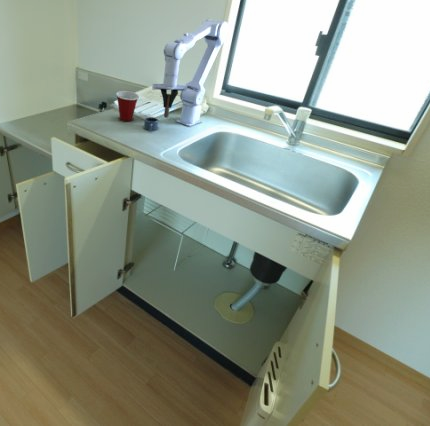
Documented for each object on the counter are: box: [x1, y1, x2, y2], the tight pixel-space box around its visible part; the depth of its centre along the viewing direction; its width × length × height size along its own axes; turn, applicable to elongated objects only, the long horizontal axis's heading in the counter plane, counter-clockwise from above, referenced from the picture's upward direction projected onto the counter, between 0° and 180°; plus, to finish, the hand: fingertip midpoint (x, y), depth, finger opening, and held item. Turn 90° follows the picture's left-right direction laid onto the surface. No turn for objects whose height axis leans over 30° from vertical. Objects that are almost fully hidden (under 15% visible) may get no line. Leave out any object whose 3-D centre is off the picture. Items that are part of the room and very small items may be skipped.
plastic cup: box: [115, 90, 140, 122], centre depth 154 cm, size 11×11×12 cm
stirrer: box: [163, 93, 171, 118], centre depth 144 cm, size 2×2×10 cm
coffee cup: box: [143, 116, 159, 132], centre depth 148 cm, size 9×6×4 cm
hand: (167, 107), depth 144 cm, fingers closed on stirrer, 2 cm apart
